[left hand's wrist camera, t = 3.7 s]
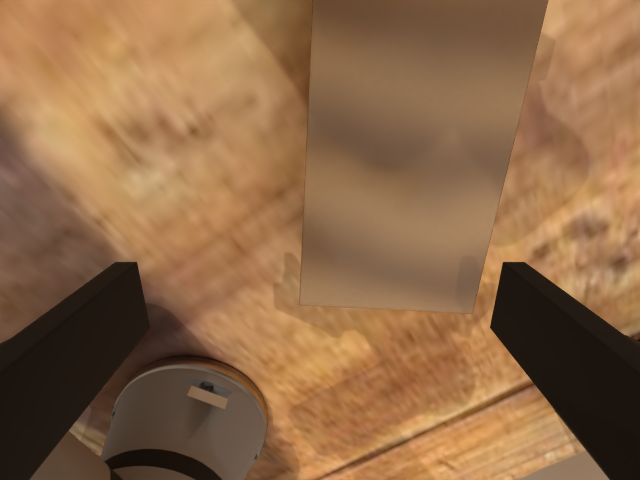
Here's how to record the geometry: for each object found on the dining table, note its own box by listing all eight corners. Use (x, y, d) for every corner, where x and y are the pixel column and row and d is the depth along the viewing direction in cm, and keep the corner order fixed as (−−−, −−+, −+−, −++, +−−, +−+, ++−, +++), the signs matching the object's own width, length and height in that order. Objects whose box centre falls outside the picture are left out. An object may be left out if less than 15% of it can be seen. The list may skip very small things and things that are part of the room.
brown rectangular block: (317, -16, 24) (317, -96, 15) (473, -5, 24) (567, -77, 15) (305, 248, 30) (299, 305, 21) (427, 255, 30) (472, 314, 21)
